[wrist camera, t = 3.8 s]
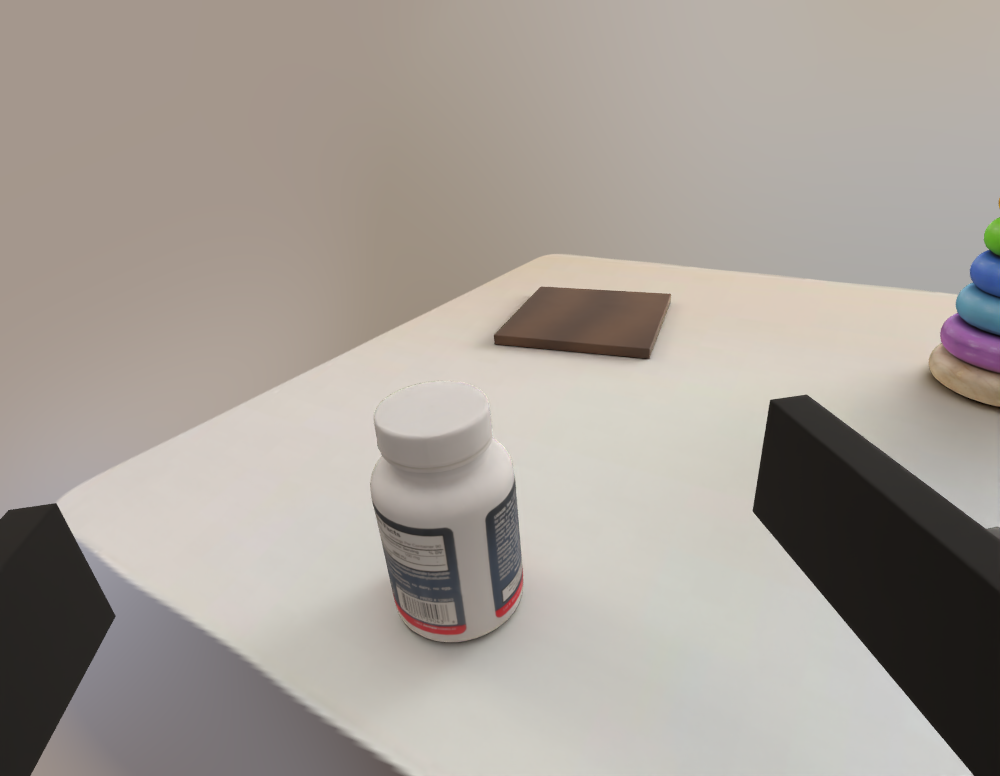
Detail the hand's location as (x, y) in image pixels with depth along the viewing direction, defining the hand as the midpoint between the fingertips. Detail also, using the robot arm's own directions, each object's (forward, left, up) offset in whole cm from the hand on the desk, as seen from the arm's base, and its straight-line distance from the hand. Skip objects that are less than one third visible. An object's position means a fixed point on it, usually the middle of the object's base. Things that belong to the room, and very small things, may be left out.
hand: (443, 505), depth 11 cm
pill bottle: (-4, +8, -12) cm, 15 cm away
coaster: (-6, +38, -11) cm, 40 cm away
